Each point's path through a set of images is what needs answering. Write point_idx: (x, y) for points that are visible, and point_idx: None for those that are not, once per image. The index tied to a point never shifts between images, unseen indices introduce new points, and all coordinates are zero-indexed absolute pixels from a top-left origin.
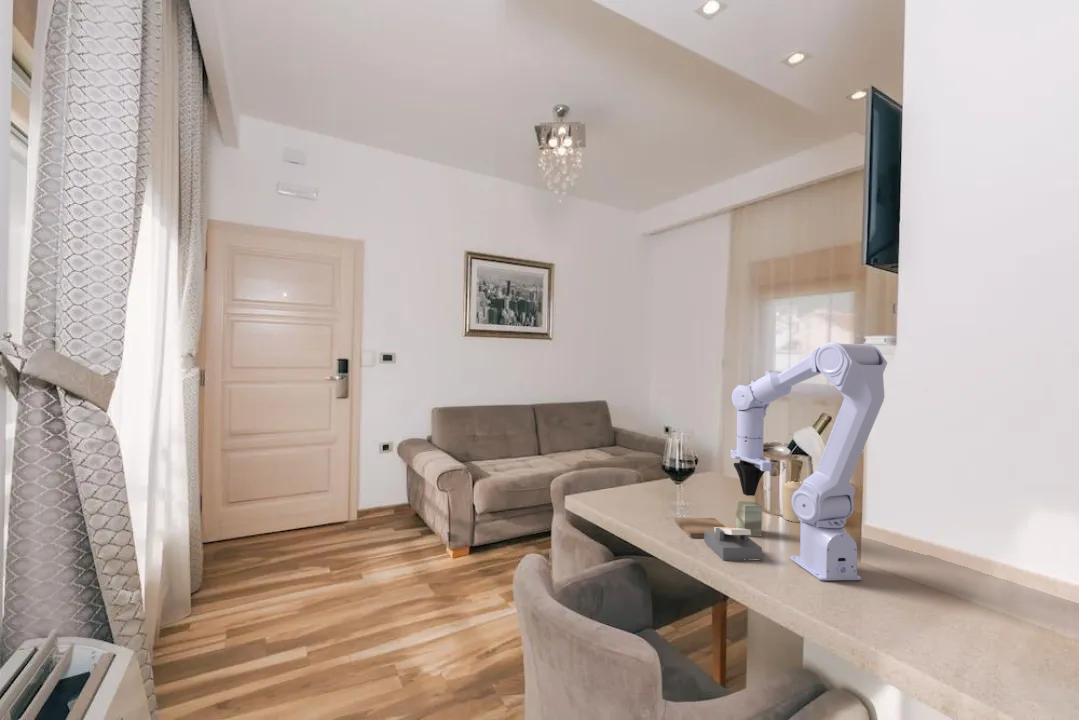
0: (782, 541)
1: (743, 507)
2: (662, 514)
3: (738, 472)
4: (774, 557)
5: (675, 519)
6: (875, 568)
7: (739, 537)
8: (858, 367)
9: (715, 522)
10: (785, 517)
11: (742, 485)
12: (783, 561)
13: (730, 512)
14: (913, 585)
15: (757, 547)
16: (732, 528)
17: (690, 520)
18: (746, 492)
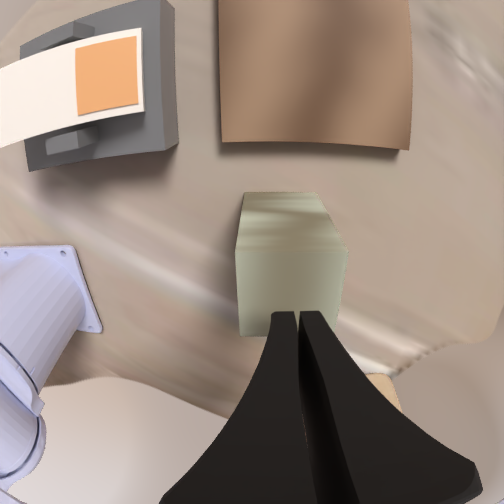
0: (202, 295)
1: (253, 244)
2: (470, 4)
3: (387, 433)
4: (75, 208)
5: None
6: (91, 372)
7: (94, 121)
8: None
9: (358, 123)
10: (368, 378)
11: (316, 349)
12: (58, 220)
13: (463, 261)
14: (51, 371)
15: (28, 157)
16: (51, 89)
17: (382, 27)
18: (270, 326)
